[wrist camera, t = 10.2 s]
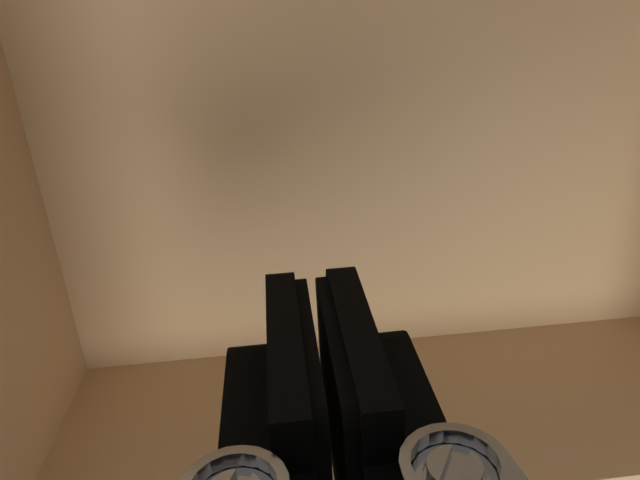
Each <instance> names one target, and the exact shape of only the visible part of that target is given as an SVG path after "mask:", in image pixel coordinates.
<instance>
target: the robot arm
mask: <svg viewBox="0 0 640 480" xmlns="http://www.w3.org/2000/svg"><path fill="white" fill-rule="evenodd" d="M315 286H316V302H317V318H318V334H319V350H320V358H319V352H318V346H317V340H316V334H315V328H314V322H313V316H312V310H311V304H310V297H309V291H308V285H307V279H306V278H305V279H295V274H294V272H287V273H276V274H265V289H266V340H267V344H258V345H248V346H238V347H228V349H227V353H226V364H225V375H224V386H223V396H222V407H221V418H220V429H219V440H218V450H215V451H212V452H210V453H208V454H206V455H205V456H203V457H201V458H200V459H198V460H197V461H195V462H194V463H193V464H192V465H191V466H190V467H189V468H188V469H187V470H186V471H185V472H184V473H183V475H182V477H181V479H180V480H333V474H332V467H333V473H334V480H529V479H528V478H527V477H526V475H525V474H524V473H523V471H522V470H521V469H520V467H519V466H518V465H517V463H516V462H515V461H514V459H513V458H512V457H511V455H510V454H509V453H508V451H507V450H506V449H505V448H504V447H503V446H502V445H501V444H500V443H499V442H498V441H497V440H496V439H495V438H494V437H492V436H490V435H489V434H487V433H485V432H484V431H482V430H480V429H477V428H474V427H471V426H468V425H465V424H460V423H451V422H447V421H446V419H445V416H444V414H443V412H442V409H441V407H440V405H439V403H438V400H437V398H436V396H435V393H434V391H433V389H432V387H431V384H430V382H429V380H428V377H427V375H426V373H425V371H424V368H423V366H422V364H421V361H420V359H419V357H418V355H417V352H416V350H415V348H414V345H413V343H412V341H411V338H410V336H409V334H408V333H407V331H405V330H400V331H389V332H379V333H378V330H377V327H376V324H375V321H374V319H373V316H372V313H371V310H370V307H369V304H368V301H367V299H366V296H365V293H364V290H363V287H362V284H361V281H360V279H359V276H358V273H357V270H356V268H355V266H354V267H343V268H332V269H326V277H316V278H315Z"/></svg>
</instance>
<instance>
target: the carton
mask: <svg viewBox="0 0 640 480" xmlns="http://www.w3.org/2000/svg"><path fill="white" fill-rule="evenodd" d="M354 266H355V268H356V270H357V273H358V276H359V279H360V281H361V284H362V287H363V290H364V293H365V296H366V299H367V301H368V304H369V307H370V310H371V313H372V316H373V319H374V321H375V324H376V327H377V330H378V333H379V332H389V331H400V330H405V331H407V333H408V334H409V336H410V338H411V341H412V343H413V345H414V348H415V350H416V352H417V355H418V357H419V359H420V361H421V364H422V366H423V368H424V371H425V373H426V375H427V377H428V380H429V382H430V384H431V387H432V389H433V391H434V393H435V396H436V398H437V400H438V403H439V405H440V407H441V409H442V412H443V414H444V416H445V419H446V421H447V422H451V423H460V424H465V425H468V426H471V427H474V428H477V429H480V430H482V431H484V432H485V433H487V434H489V435H490V436H492V437H494V438H495V439H496V440H497V441H498V442H499V443H500V444H501V445H502V446H503V447H504V448H505V449H506V450H507V451H508V453H509V454H510V455H511V457H512V458H513V459H514V461H515V462H516V463H517V465H518V466H519V467H520V469H521V470H522V471H523V473H524V474H525V475H526V477H527V478H528V479H529V480H640V0H0V480H180V479H181V477H182V475H183V473H184V472H185V471H186V470H187V469H188V468H189V467H190V466H191V465H192V464H193V463H194V462H195V461H197V460H198V459H200V458H201V457H203V456H205V455H206V454H208V453H210V452H212V451H215V450H218V440H219V429H220V418H221V407H222V396H223V386H224V375H225V364H226V353H227V349H228V347H238V346H248V345H258V344H267V340H266V289H265V274H276V273H287V272H294V274H295V279H305V278H306V279H307V285H308V291H309V297H310V304H311V310H312V316H313V322H314V328H315V334H316V340H317V346H318V352H319V358H320V350H319V334H318V318H317V302H316V286H315V278H316V277H326V269H332V268H343V267H354ZM332 474H333V480H334V473H333V467H332Z"/></svg>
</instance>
